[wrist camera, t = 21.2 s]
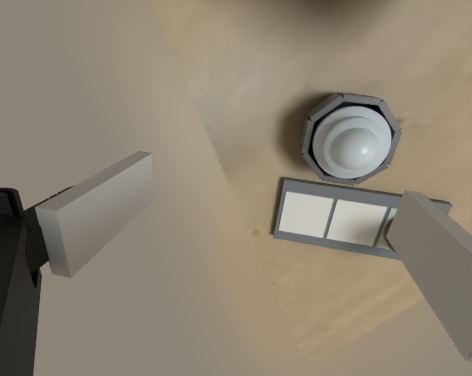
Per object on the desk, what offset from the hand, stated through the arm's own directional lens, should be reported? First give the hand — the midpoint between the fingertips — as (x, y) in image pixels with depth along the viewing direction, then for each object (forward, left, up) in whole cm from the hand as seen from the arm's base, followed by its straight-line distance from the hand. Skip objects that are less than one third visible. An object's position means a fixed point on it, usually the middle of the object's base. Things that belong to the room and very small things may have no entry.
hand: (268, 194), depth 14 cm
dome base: (0, +8, -20) cm, 21 cm away
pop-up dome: (0, +8, -16) cm, 18 cm away
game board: (+11, +12, -20) cm, 25 cm away
